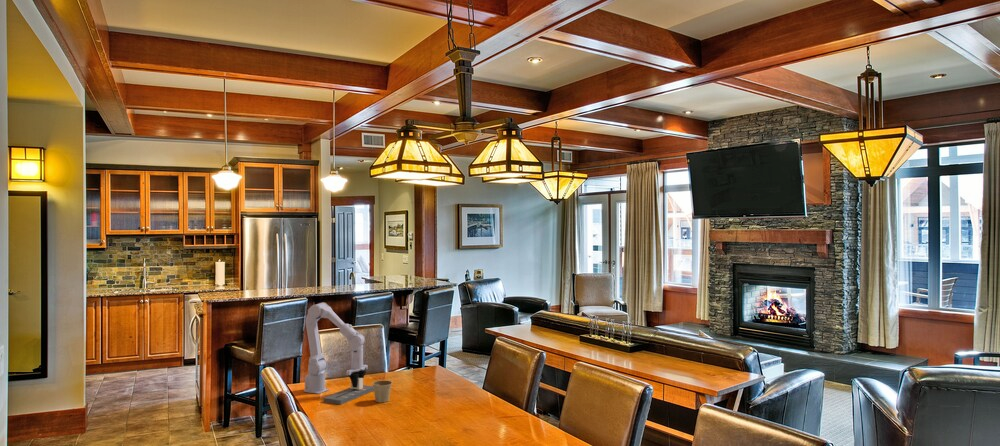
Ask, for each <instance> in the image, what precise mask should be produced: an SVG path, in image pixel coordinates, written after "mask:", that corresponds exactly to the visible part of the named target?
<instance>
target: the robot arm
mask: <svg viewBox="0 0 1000 446" xmlns="http://www.w3.org/2000/svg"><path fill="white" fill-rule="evenodd" d="M320 319H328V320H329V321H330V322H332V324H334V325H335V326H336V327H337V328H339V333H340V334H341V335H342V336H343V337H344V338H346V339H347V340H348V342H349V345H350V346H351V357H350V358H351V363H350V364H351V366H350V368H349V369H348V370H346V371H345V375H346V376H348V377H349V379H350V383H351V382H352V386H353V387H357V383H358V377H359V378H363V379H364V378H365V375H366V373H367V370H368V369H369V367H368V366H369V365H368V364H364V344H365V342H366V338H365V336H364V334H362V333H360V332H359V331H357V330H356V329H354V328H353V325H352V324H349V323H345V322H344V321H343V320H342V319H341V318H340V317H339V316H338V315H337V313H335V312H334V310H333V309H332V306H330V305H329V304H327V303H326V302H323V301H322V302H319V303H317V304H312V305H311V306H310V307H309V308H308V309H307V315H306V318H305V327H306V333H307V339H308V346H309V347H308V349H309V354H310V356H309V359H308V366H307V371H308V373H307V374H306V375H305V378H304V390H303V392H304V393H309V394H310V393H312V394H316V395H318V394H322V393H325V392H326V391H329V390H330V389H329V388H326V370H327V367H328V362H327V359H325V357H326V356H325V355H324V354H323V353H322V352H323V351H322V346H321V341H320V335H319V327H318V321H319V320H320Z"/></svg>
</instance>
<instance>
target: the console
mask: <svg viewBox="0 0 1000 446" xmlns="http://www.w3.org/2000/svg"><path fill="white" fill-rule="evenodd" d="M371 392H374V387H373V385H365V384H363V388H362V389H360V390H358V389H351V386H350V387H347V388H345V389H343V390H340V391H338V392H335V393H333V394H330V395H327V396H325V397H323V403H327V404H333V405H339V406H341V405H344V404H346V403H348V401H349V402H350V401H353V400H355V399H357V398H360V397H362V395H363V396H364V395H367V394H369V393H371Z"/></svg>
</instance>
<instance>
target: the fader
mask: <svg viewBox="0 0 1000 446" xmlns="http://www.w3.org/2000/svg"><path fill="white" fill-rule="evenodd" d="M363 385H364V378H359V377H358V383H357V387H353V386H352V382H351V381H350V387H351V389H358V390H360V389H362V388H363Z"/></svg>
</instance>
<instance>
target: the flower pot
mask: <svg viewBox="0 0 1000 446" xmlns="http://www.w3.org/2000/svg"><path fill="white" fill-rule="evenodd" d="M371 384H372V386H373V387H374V391H373V392H374V401H375V402H376V403H387V402H389V401H390V394H391V388H392V385H393V381H391V380H387V379H386V380H385V379H384V380H381V379H380V380H376V381H373V382H372V383H371Z"/></svg>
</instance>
